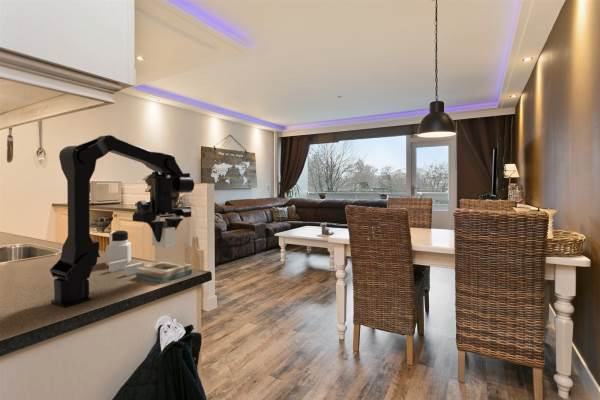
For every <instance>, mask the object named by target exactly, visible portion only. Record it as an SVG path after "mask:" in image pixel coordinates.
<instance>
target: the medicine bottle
mask: <svg viewBox="0 0 600 400" xmlns="http://www.w3.org/2000/svg"><path fill="white" fill-rule="evenodd" d="M108 235H109V240H108V241H109V244H107V245H106V246H105V265H106V266H108V267H109V263H111V262H115V261H120V260H124V259H127V260H128V264H129V263H130V262H131V261H132V243H131V241H129V233H128V231H126V230H113V231H111V232H110V233H109V234H108Z"/></svg>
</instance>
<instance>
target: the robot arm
mask: <svg viewBox="0 0 600 400" xmlns="http://www.w3.org/2000/svg"><path fill="white" fill-rule="evenodd" d="M108 153H111V154H115V155H118V156H120V157H123V158H126V159H129V160H132V161H135V162H139V163H142V164H143V165H144V166H146V168H148V169H150V170H151V171H152V173H151V174H149V175H148V176H147V179H148V180H153V193H154V194H153V195H152V196H150V201H146V200H139V201H137V203H136V205H137V206H136V208H137V211H134V213H133V214H132V222H140V223H145V224H147V225H148V226H149V227H150V229H151V232H152V231H153V233H154V236H155V238H156V241H157V242H160V240H161V235H162V228H163V221H167V227H175V232H176V230H177V228H178V227H179V226H180V223H181V222H182V221H184V218H191V217H192V211H191V209H190V208H183V207H182V208H181V207H178V208H177V207H176V208H174V200H177V196H175V195H174V193H175V194H182V193H191V192H193V191H194V188H195V181H194V180H193V177H191V173H190V172H186V173H185V172H184V173H183V171H182V169H181V168H180V166H179V165H178V163H177V160H176V157H175V156H174V155H173V154H169V153H165V152H164V153H163V152H156V151H151V150H148V149H146V148H143V147H140V146H137V145H136V144H134V143H130V142H128V141H125V140H122V139H119V138H117V137H116V136H113V135H111V134H108V135H100V136H98V137H96V138H94V139H92V140H89V141H86V142H84V143H81V144H78V145H67V146H65V147H63V148H62V149H61V150H60V151H59V155H58V158H59V163H60V167H61V170H62V172H63V175H64V177H65V179H66V181H67V182H66V183H67V191H66V192H67V237H66V239H65V241H64V243H63V245H62V249H61V253H60V258H59V259H58V261H56V263H55V264H54V265H53V266H52V267H51V268H50V269H49V272H50V274H51V276H52V277H53V279H54V280H53V291H54V296H53V297H54V299H51V300H50V303H51V304H54V305H57V306H60V307H62V308H66V307H71V306H72V305H76V304H80V303H83V302H86V301H89V300H92V296H90V280H89V278H90V276H91V273H92V271H93V268H94V267H95V266H96V265H97V262H98V258H100V257H101V256H100V252H99V251H100V250H99V249H100V242H99V241H96V240H93V239H92V237H91V232H90V231H91V228H90V227H91V226H90V221H91V220H90V218H91V217H90V210H91V209H90V204H91V203H90V202H91V201H90V182H91V181H90V180H91V178H92V176H93V174H94V173H95V171H96V165H97V160H99V159H100V158H101V159H102V158H103V157H104V156H106V155H107V154H108ZM182 217H183V218H182ZM161 218H163V219H164V220H161Z"/></svg>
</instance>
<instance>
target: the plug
mask: <svg viewBox="0 0 600 400" xmlns="http://www.w3.org/2000/svg"><path fill="white" fill-rule="evenodd" d="M162 221H163V228H162V235H161V240H160V242H157V241H156V238H155V236H154V233H153V231H152V230H151V234H152V238H151V239H152V242H151V243H152V245H151V246H153V247H160V248H170V247H174V246H176V231H175V227H167V221H165V220H162Z"/></svg>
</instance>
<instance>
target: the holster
mask: <svg viewBox="0 0 600 400" xmlns="http://www.w3.org/2000/svg"><path fill="white" fill-rule="evenodd" d="M142 266H145V263H144V262H136V263H133V264H129V263H128V260H127V259H124V260H120V261H115V262H111V263H109V266H108V273H114V272H118V271H123V270H124V276H126V277H128V276H132V275H136V268H138V267H142Z"/></svg>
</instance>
